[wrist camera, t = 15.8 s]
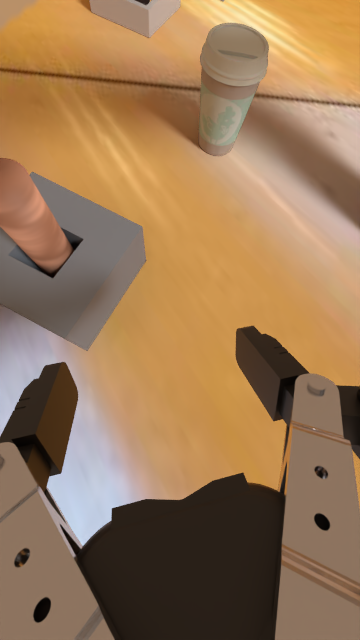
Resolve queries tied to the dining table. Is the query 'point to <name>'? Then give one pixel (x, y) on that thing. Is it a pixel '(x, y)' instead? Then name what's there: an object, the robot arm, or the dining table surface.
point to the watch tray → (136, 13)
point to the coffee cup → (228, 83)
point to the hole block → (74, 268)
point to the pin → (31, 219)
